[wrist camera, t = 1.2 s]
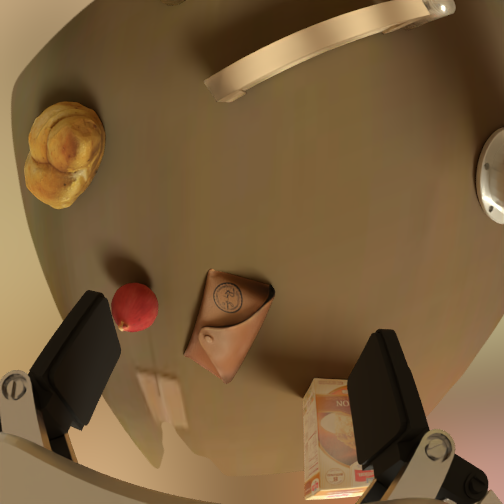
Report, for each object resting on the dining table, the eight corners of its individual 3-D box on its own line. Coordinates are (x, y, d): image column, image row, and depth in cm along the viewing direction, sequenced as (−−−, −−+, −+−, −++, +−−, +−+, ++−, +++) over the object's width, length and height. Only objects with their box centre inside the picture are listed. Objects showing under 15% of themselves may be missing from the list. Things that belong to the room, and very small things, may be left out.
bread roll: (84, 215, 31) (45, 246, 24) (35, 173, 29) (-7, 195, 22) (130, 126, 26) (87, 138, 19) (72, 85, 23) (24, 89, 16)
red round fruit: (164, 311, 37) (145, 354, 30) (126, 299, 37) (101, 339, 30) (167, 276, 35) (144, 320, 28) (125, 265, 34) (96, 304, 27)
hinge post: (415, 14, 17) (454, -4, 10) (414, 32, 19) (456, 18, 12) (394, 6, 17) (429, -17, 10) (393, 25, 19) (431, 6, 12)
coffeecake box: (393, 379, 42) (417, 477, 25) (376, 400, 46) (392, 491, 29) (313, 376, 42) (320, 491, 25) (301, 399, 46) (303, 501, 29)
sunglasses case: (205, 264, 33) (226, 305, 28) (257, 263, 37) (283, 299, 32) (182, 357, 42) (196, 393, 37) (223, 351, 46) (239, 384, 41)
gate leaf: (386, 15, 18) (418, -5, 12) (396, 30, 19) (430, 14, 12) (221, 86, 23) (203, 81, 17) (231, 101, 24) (216, 101, 18)
